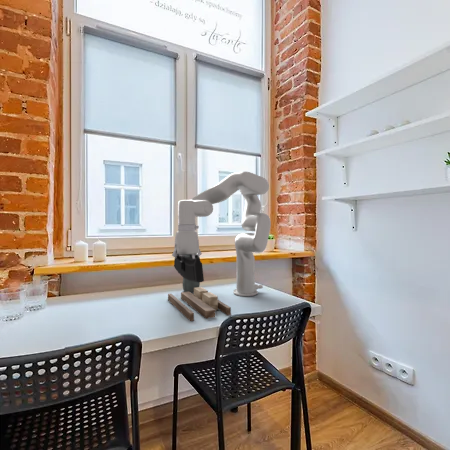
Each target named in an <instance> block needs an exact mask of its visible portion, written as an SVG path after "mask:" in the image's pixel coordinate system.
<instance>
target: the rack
mask: <svg viewBox="0 0 450 450" xmlns="http://www.w3.org/2000/svg"><path fill="white" fill-rule="evenodd" d="M180 299H181V300H182V301H184V302H185V303H186V304H187V305H188V306H190V307H191V308H192V309H193V310H195V311H196V312H197V313H198V314H199V315H201V316H202V317H203V318H204V319H213V318H216V310H215V309H213V308H212V307H210V306H209V305H208V304H206V303H205V302H203V301H202V300H200V299H199V298H197V297H196V296H195V295H194V293H190V292H184V291H182V292H180ZM167 300H168V302H169V303H170V304H172V306H174V307H175V308H176V309H177V310H178V311H179V312H180V313H181V314H182V315H183V316H184V317H185V318H186V319H187V320H188V321H189V322H193V321H195V313H194V311H192V310H191V309H190V308H189V307H188V306H186V305H185V304H184V303H183V302H182V301H181V300H179V299H178V298H177V297H176V296H175V295H173V294H172V293H168V294H167ZM218 310H219V311H221V312H222V313H224V314H225V316H231V314H232V307H231V306H229V305H227V304H226V303H225V302H223V301H221V300H219V299H218Z"/></svg>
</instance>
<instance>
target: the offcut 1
mask: <svg viewBox="0 0 450 450" xmlns="http://www.w3.org/2000/svg"><path fill="white" fill-rule="evenodd" d="M208 292H209V290H207V289H206V288H204V287H202V286H199V287H197V288H194V293H193V295H195V296H196V297H197V298H199V299H200V300H202V293H208Z"/></svg>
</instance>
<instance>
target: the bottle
mask: <svg viewBox="0 0 450 450" xmlns="http://www.w3.org/2000/svg"><path fill="white" fill-rule="evenodd" d="M186 256H188V257H190V255H186ZM198 258H200V256H198ZM182 278H183V279H182V290H183V292H190V293H192V294H194V288H197V287H201V286H200V285H201V282H194V281H189V280H187V279H185V278H184V277H182Z"/></svg>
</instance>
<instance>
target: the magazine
mask: <svg viewBox="0 0 450 450" xmlns="http://www.w3.org/2000/svg"><path fill="white" fill-rule="evenodd" d="M176 255H178V254H176ZM178 256H180V255H178ZM184 262H185V271H181V269H180V261H179V260H178V259H177V258H175V257H174V262H173V268H174V269H175V270H176V272H177V273H178V274H179V275H180V276H181V277H182V278H183V277H184V278H185V279H187V280H189V281H194V282H200V283H203V282H205V280H204V279H205V277H204V270H203V263H202V261H201V259H200V257H199V258H198V257H197V258H195V259H193V258H190V257H188V256H186V255H184Z"/></svg>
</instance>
